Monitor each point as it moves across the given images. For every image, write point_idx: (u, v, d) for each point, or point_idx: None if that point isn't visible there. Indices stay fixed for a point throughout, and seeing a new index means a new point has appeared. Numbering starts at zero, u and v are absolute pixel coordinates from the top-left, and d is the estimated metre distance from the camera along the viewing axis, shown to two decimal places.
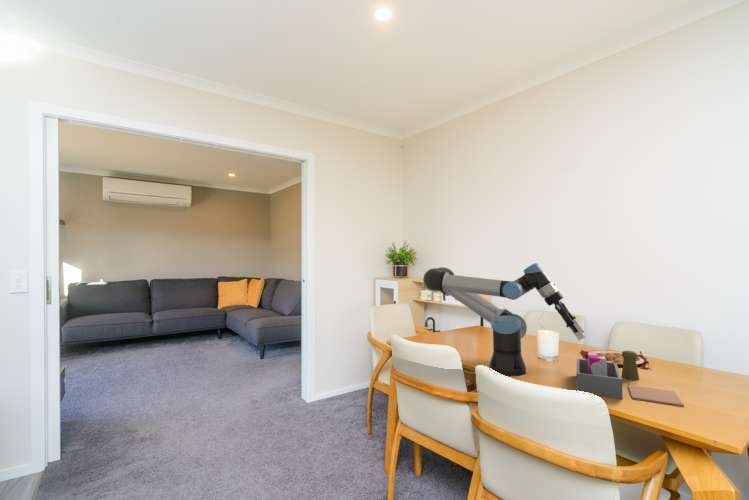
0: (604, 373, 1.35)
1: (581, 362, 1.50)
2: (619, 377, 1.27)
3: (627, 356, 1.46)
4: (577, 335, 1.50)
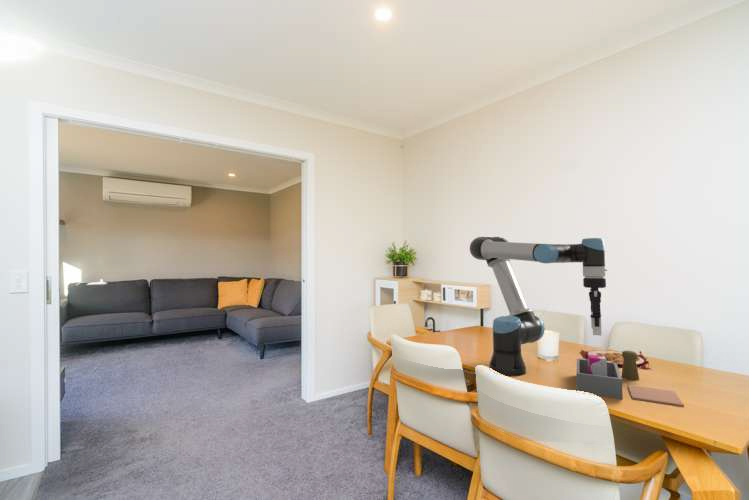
0: (604, 373, 1.35)
1: (581, 362, 1.50)
2: (619, 377, 1.27)
3: (627, 356, 1.46)
4: (594, 330, 1.33)
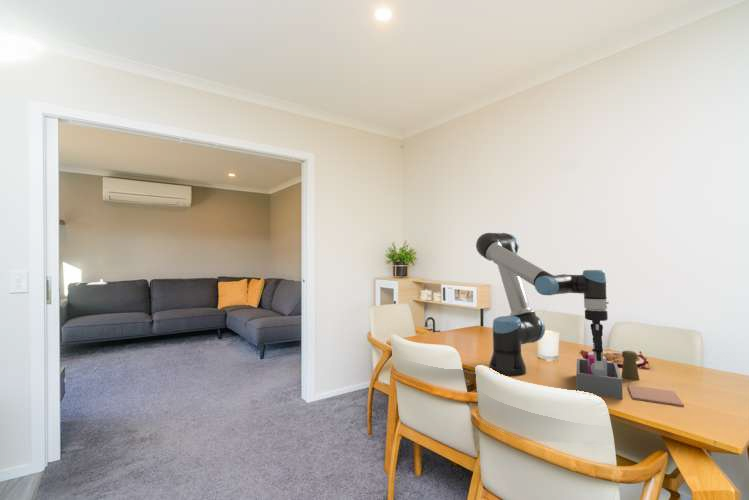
0: (604, 373, 1.35)
1: (581, 362, 1.50)
2: (619, 377, 1.27)
3: (627, 356, 1.46)
4: (596, 364, 1.33)
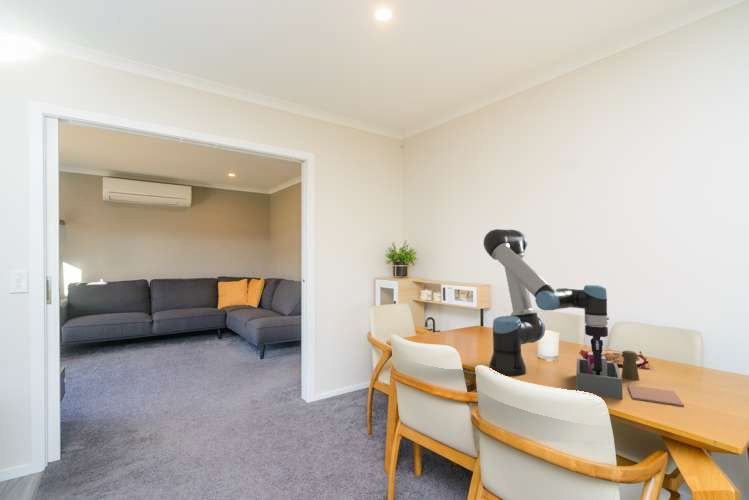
0: (604, 373, 1.35)
1: (581, 362, 1.50)
2: (619, 377, 1.27)
3: (627, 356, 1.46)
4: None
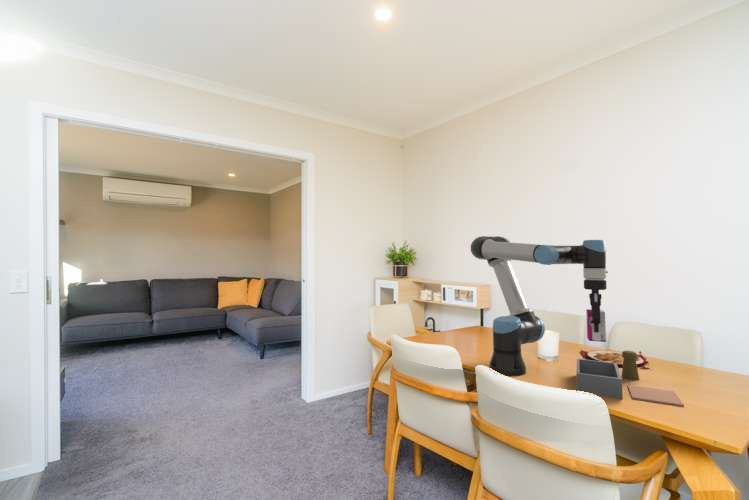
0: (602, 326, 1.36)
1: (581, 362, 1.50)
2: (619, 377, 1.27)
3: (627, 356, 1.46)
4: (593, 335, 1.36)
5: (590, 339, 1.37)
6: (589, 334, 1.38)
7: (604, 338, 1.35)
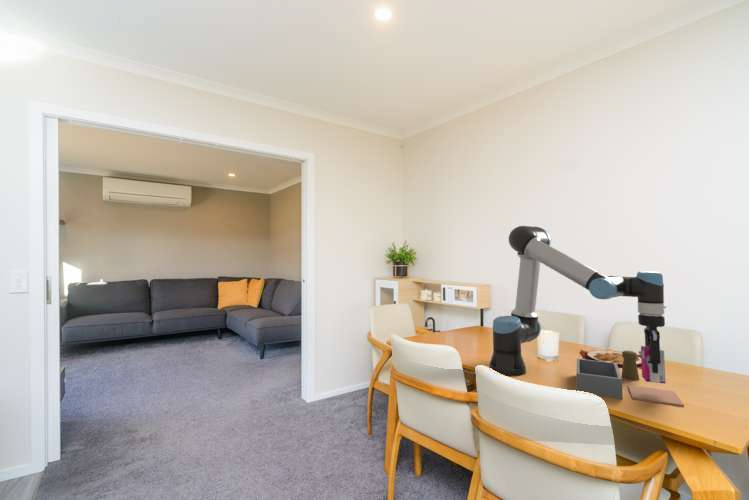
0: (661, 366, 1.25)
1: (581, 362, 1.50)
2: (619, 377, 1.27)
3: (627, 356, 1.46)
4: (652, 376, 1.26)
5: (647, 380, 1.27)
6: (646, 375, 1.27)
7: (663, 379, 1.25)
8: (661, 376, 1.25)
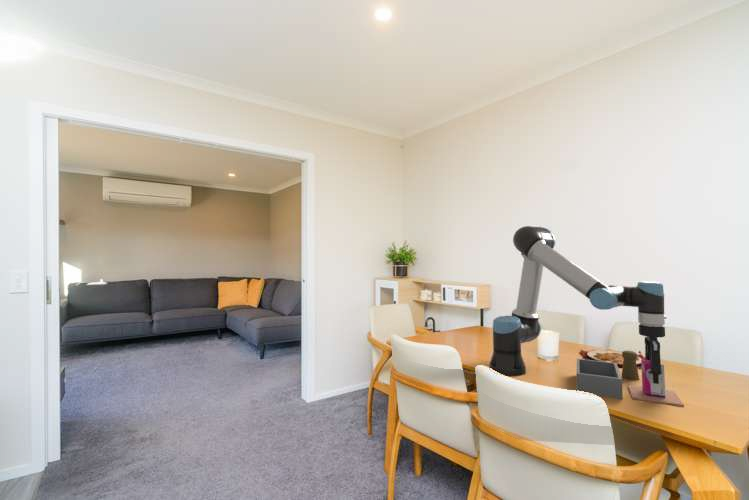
0: (661, 380, 1.25)
1: (581, 362, 1.50)
2: (619, 377, 1.27)
3: (627, 356, 1.46)
4: (652, 386, 1.25)
5: (647, 393, 1.27)
6: (646, 388, 1.27)
7: (663, 393, 1.25)
8: (661, 390, 1.25)
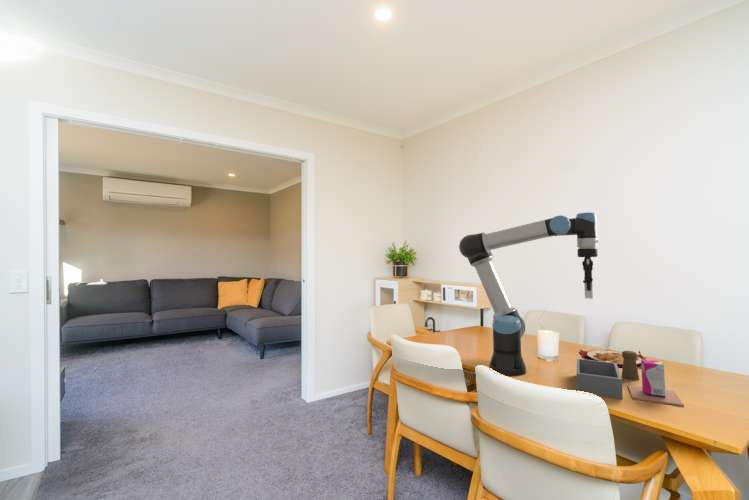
0: (661, 380, 1.25)
1: (581, 362, 1.50)
2: (619, 377, 1.27)
3: (627, 356, 1.46)
4: (586, 293, 1.50)
5: (647, 393, 1.27)
6: (646, 388, 1.27)
7: (663, 393, 1.25)
8: (661, 390, 1.25)
